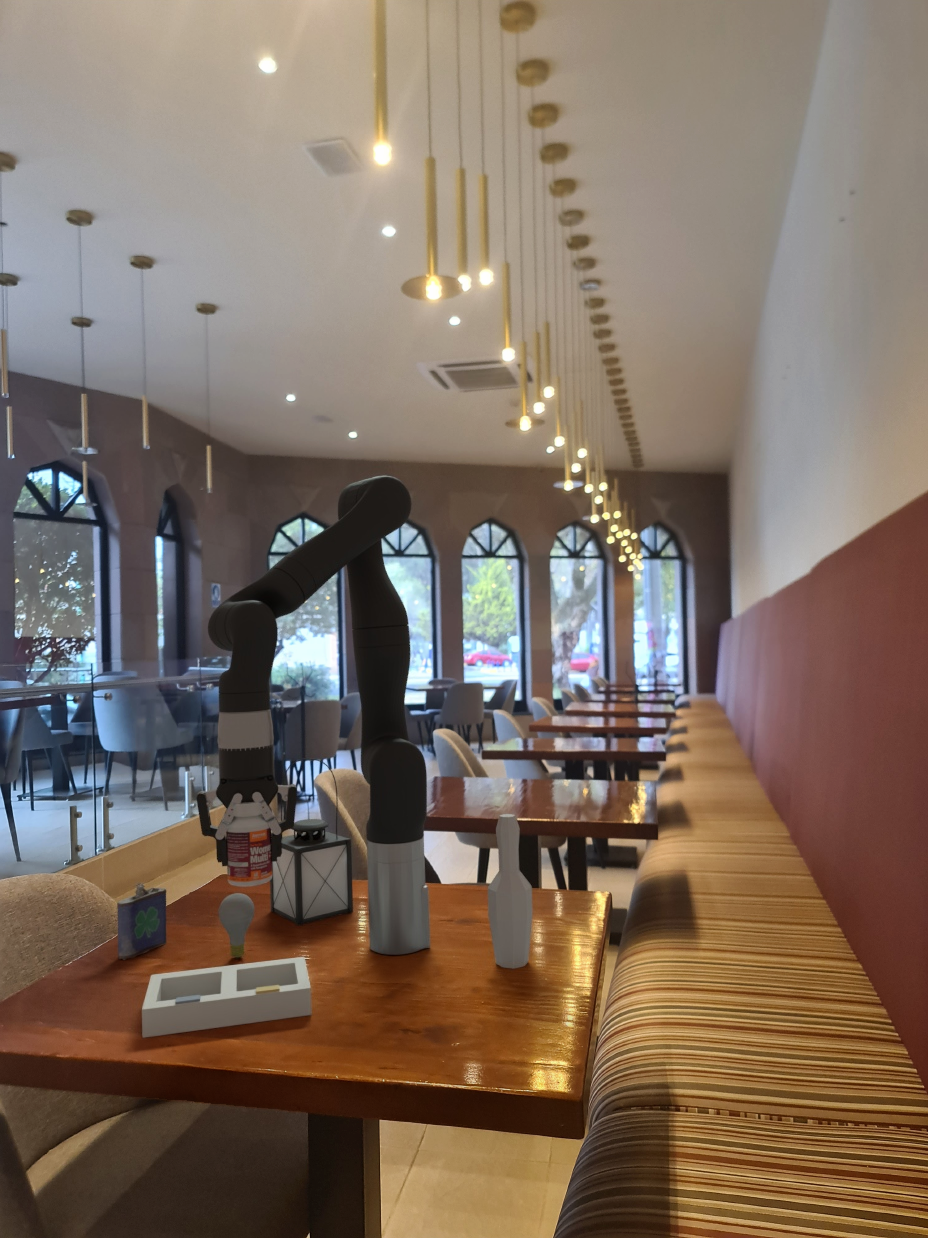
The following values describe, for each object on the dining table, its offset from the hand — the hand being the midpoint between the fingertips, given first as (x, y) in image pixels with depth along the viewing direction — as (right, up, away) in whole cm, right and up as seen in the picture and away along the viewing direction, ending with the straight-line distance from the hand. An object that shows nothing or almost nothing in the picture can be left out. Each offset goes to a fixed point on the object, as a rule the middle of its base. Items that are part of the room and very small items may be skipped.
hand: (249, 862), depth 122 cm
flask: (-22, -20, +19) cm, 36 cm away
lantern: (+2, -20, +37) cm, 42 cm away
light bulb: (-5, -19, +14) cm, 25 cm away
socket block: (-2, -18, -4) cm, 19 cm away
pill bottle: (0, -3, 0) cm, 3 cm away
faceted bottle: (+37, -18, +9) cm, 42 cm away
